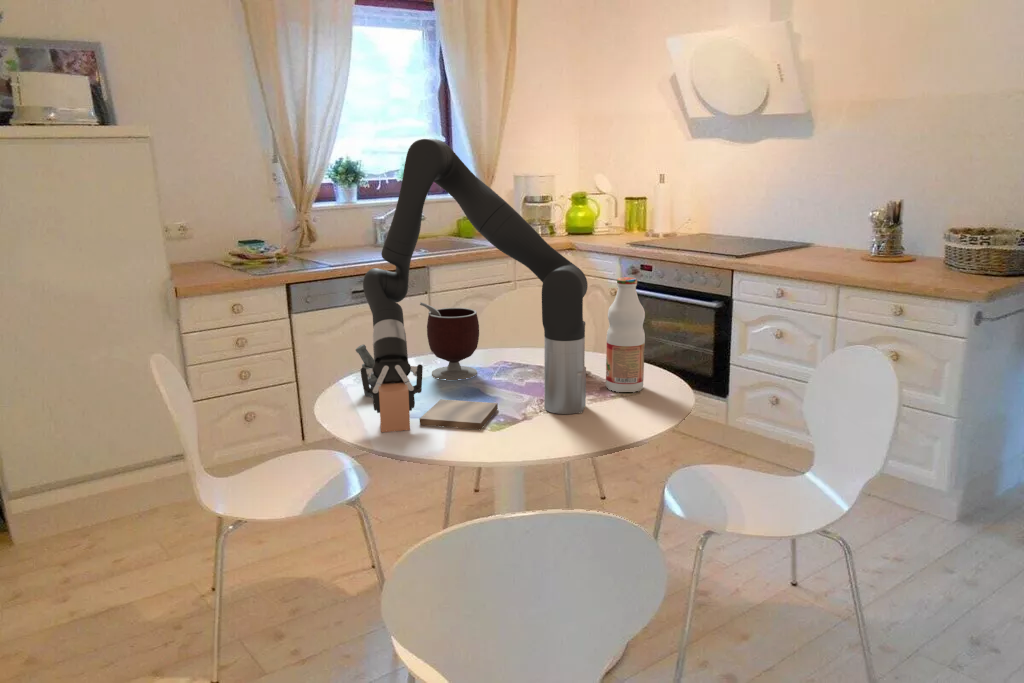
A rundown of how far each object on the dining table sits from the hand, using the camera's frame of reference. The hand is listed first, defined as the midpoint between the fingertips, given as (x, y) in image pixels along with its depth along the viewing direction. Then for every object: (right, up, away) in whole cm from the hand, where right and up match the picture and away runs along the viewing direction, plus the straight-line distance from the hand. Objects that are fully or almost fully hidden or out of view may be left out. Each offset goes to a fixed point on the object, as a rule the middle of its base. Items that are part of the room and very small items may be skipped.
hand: (394, 410), depth 167 cm
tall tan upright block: (0, -4, +3) cm, 5 cm away
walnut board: (+14, -2, +8) cm, 16 cm away
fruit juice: (+54, +3, +28) cm, 61 cm away
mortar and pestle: (-8, +2, +29) cm, 30 cm away
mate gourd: (+9, +6, +43) cm, 44 cm away
